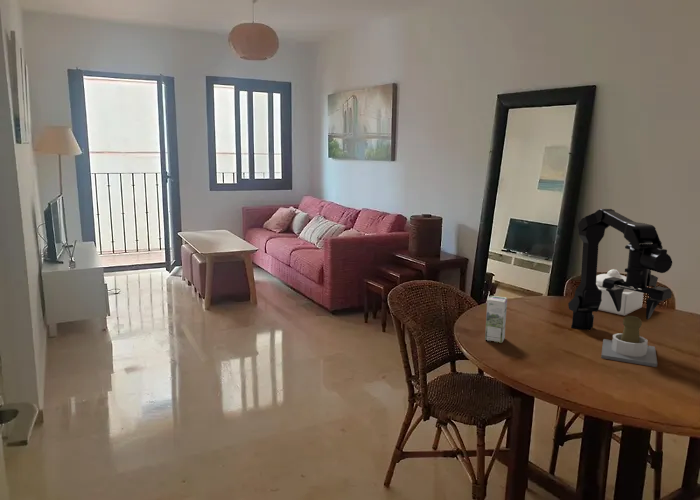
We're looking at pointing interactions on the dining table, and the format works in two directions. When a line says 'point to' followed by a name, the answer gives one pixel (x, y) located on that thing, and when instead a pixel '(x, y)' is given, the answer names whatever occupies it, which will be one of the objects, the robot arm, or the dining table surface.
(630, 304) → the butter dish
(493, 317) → the syrup box
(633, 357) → the cup stand
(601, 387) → the dining table surface
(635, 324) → the cork
